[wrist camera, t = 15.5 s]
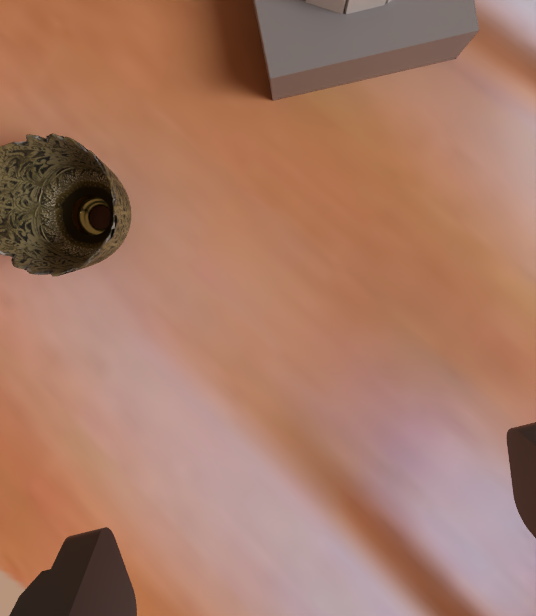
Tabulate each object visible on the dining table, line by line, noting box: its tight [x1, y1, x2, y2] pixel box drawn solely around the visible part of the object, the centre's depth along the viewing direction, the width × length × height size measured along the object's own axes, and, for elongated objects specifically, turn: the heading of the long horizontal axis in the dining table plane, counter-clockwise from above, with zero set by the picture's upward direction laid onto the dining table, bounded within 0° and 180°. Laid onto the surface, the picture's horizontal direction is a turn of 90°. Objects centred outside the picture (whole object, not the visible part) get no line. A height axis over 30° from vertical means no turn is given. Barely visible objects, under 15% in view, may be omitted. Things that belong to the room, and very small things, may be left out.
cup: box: [0, 134, 131, 276], centre depth 30 cm, size 8×7×8 cm
